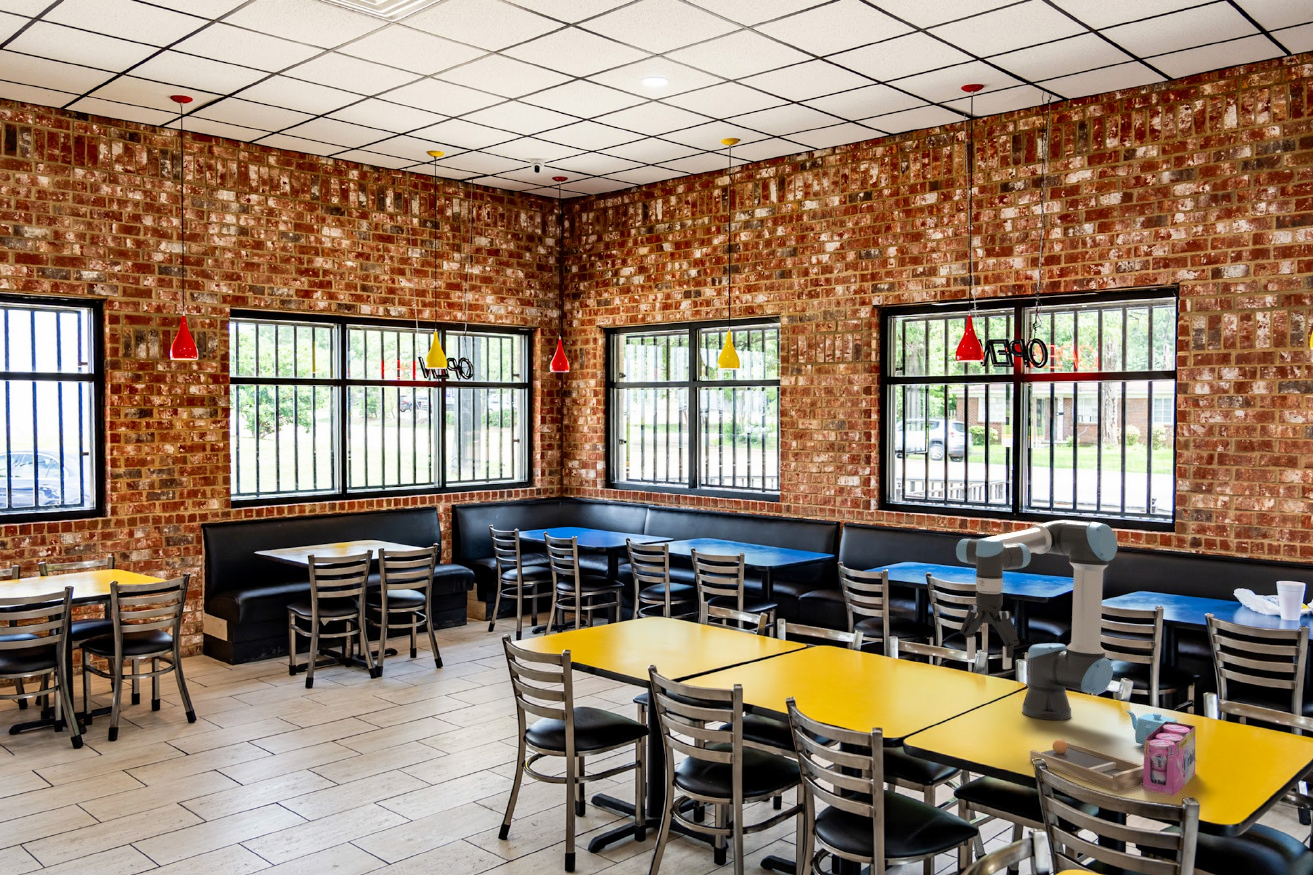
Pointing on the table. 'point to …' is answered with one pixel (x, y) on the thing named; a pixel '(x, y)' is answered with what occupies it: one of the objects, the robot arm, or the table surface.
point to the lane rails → (1116, 782)
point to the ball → (1060, 746)
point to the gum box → (1169, 758)
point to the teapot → (1147, 725)
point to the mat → (1086, 761)
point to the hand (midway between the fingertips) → (988, 663)
